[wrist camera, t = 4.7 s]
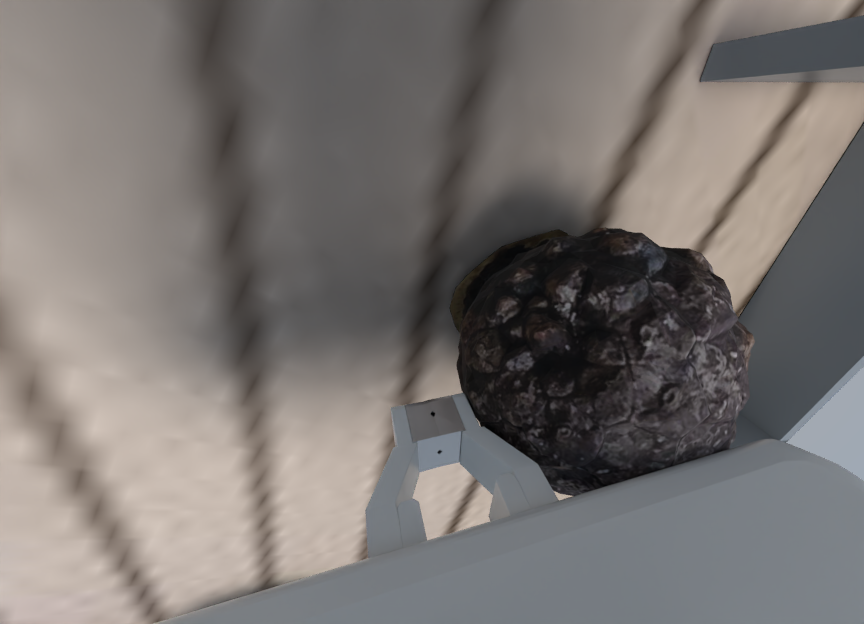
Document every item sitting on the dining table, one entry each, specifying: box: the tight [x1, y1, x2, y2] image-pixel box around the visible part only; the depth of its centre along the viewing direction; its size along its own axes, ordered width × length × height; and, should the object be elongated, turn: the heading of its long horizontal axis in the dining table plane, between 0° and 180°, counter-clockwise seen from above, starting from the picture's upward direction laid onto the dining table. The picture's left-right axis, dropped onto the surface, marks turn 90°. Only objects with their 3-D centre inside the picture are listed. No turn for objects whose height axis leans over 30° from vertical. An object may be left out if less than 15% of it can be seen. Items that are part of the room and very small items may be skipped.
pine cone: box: [450, 228, 755, 496], centre depth 15 cm, size 10×18×10 cm, turn 51°
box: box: [700, 15, 864, 449], centre depth 17 cm, size 23×13×6 cm, turn 1°
